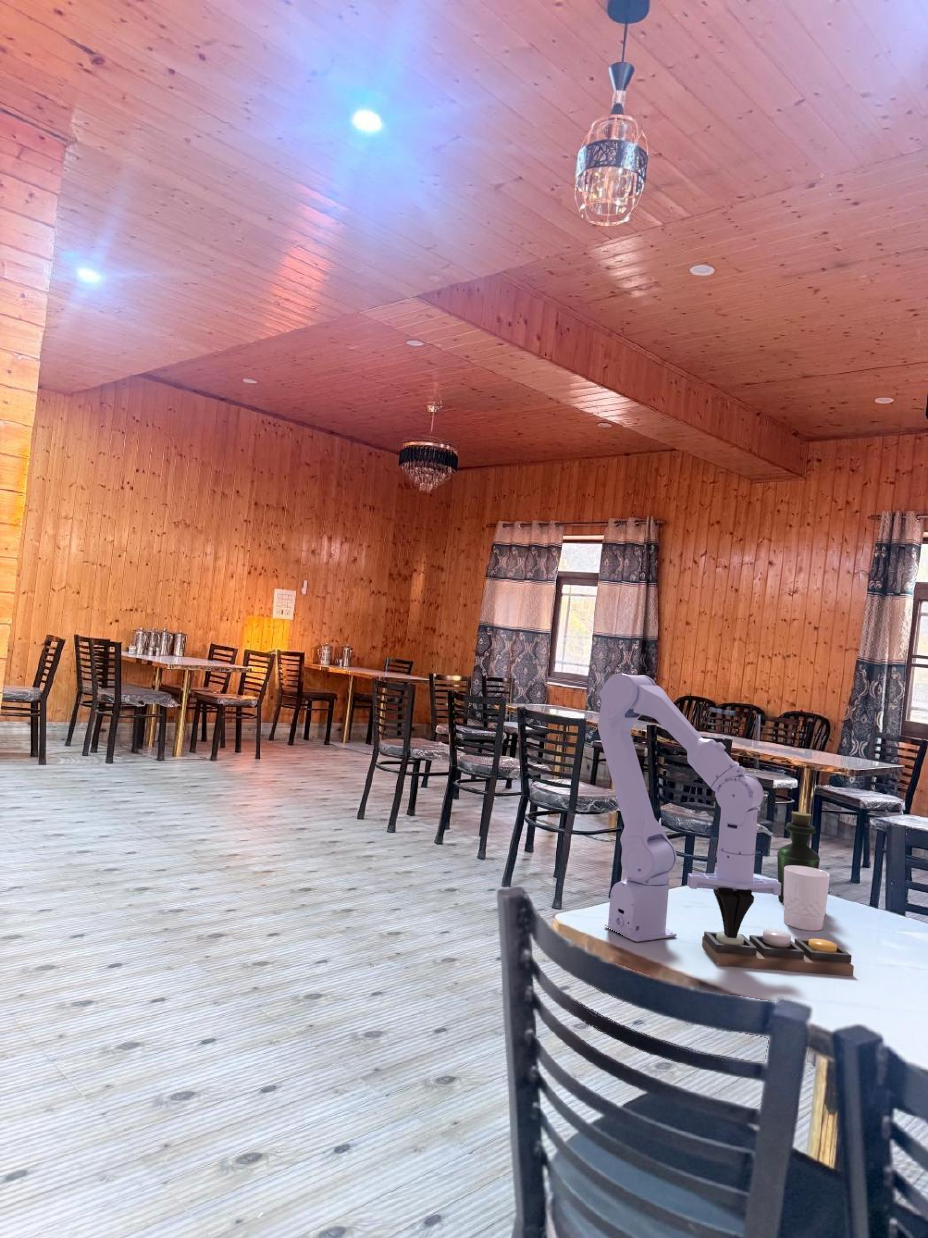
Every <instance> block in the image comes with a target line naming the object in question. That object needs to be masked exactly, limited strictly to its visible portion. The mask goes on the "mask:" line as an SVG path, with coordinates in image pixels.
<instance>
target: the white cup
mask: <svg viewBox="0 0 928 1238" xmlns="http://www.w3.org/2000/svg"><path fill="white" fill-rule="evenodd" d="M830 876H831V875H830V873H829V872H828V871H825V870H822V869H820V868H818V869H816V868H811V867H805V866H796V865H790V866H785V867H784V903H783V908H784V909H783V922H784V923H785V924H786V925H788V926H789V927H792V928H795V929H799V930H804V931H813V932H818V931H821V930H822V929H824V922H825V921H824V920H825V915H826V910H827V901H828V895H829V886H830V885H829V884H830V878H831V877H830Z"/></svg>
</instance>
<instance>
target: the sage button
mask: <svg viewBox="0 0 928 1238" xmlns="http://www.w3.org/2000/svg"><path fill="white" fill-rule="evenodd" d="M739 934H740V933H738V934H737V938H728V937H727V936H726V935H725V934H724V930H723V931H717V936H716V940H717V941H718V943H719V944H731V945H744V937H743V936H741V935H739Z"/></svg>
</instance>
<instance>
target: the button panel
mask: <svg viewBox="0 0 928 1238" xmlns="http://www.w3.org/2000/svg"><path fill="white" fill-rule="evenodd" d="M717 932H718V931H717ZM717 932H715V931H704V932H703V936H702V938H701V939H702V940H701V946H702V947H703V949H704V950H705V951H706V952H707V953H708V954H709V956H711V958H712V959H713V960H714V961H715V962H716V963H717V965H718V966H723V967H737V968H749V969H750V968H751V969H760V970H761V969H763V970H772V971H773V970H776V971H777V970H778V971H787V972H789V971H790V972H800V973H810V974H811V973H814V974H826V975H835V976H836V975H839V976H849V977H850V976H851V977H854V965H853V964H852V954H850V953H849V952H848V951H846V950H845V949H844V948H842V947H841V946H840V945H838V944H837V943H836V942H835V941H830V942H833V943H835V944H836V945H837V953H833V952H820V951H813V950H812V949H811V948H809V947H808V944H809V939H803V938H794V942H793V940H791V942H790V946H789V947H777V946H773V945H769V944H767V943H765V942H763V935H752V934H749V937H748V938H747V937H746V936H745V935H744V934H741V933H738V934H739V935H741V936H743V937H744V945H731V944H719V943H718V941H717V940H716V936H717Z"/></svg>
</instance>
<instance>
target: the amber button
mask: <svg viewBox="0 0 928 1238" xmlns="http://www.w3.org/2000/svg"><path fill="white" fill-rule="evenodd" d="M808 940H809V944H808V947H809V948H811V949H812V950H813V951H820V952H833V953H837V945H838V944H837V943H836V942H834V941H832V942H830V941H829V940H827V939H821V938H810V939H808ZM833 942H834V943H833ZM835 943H836V944H837V945H836V944H835Z"/></svg>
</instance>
